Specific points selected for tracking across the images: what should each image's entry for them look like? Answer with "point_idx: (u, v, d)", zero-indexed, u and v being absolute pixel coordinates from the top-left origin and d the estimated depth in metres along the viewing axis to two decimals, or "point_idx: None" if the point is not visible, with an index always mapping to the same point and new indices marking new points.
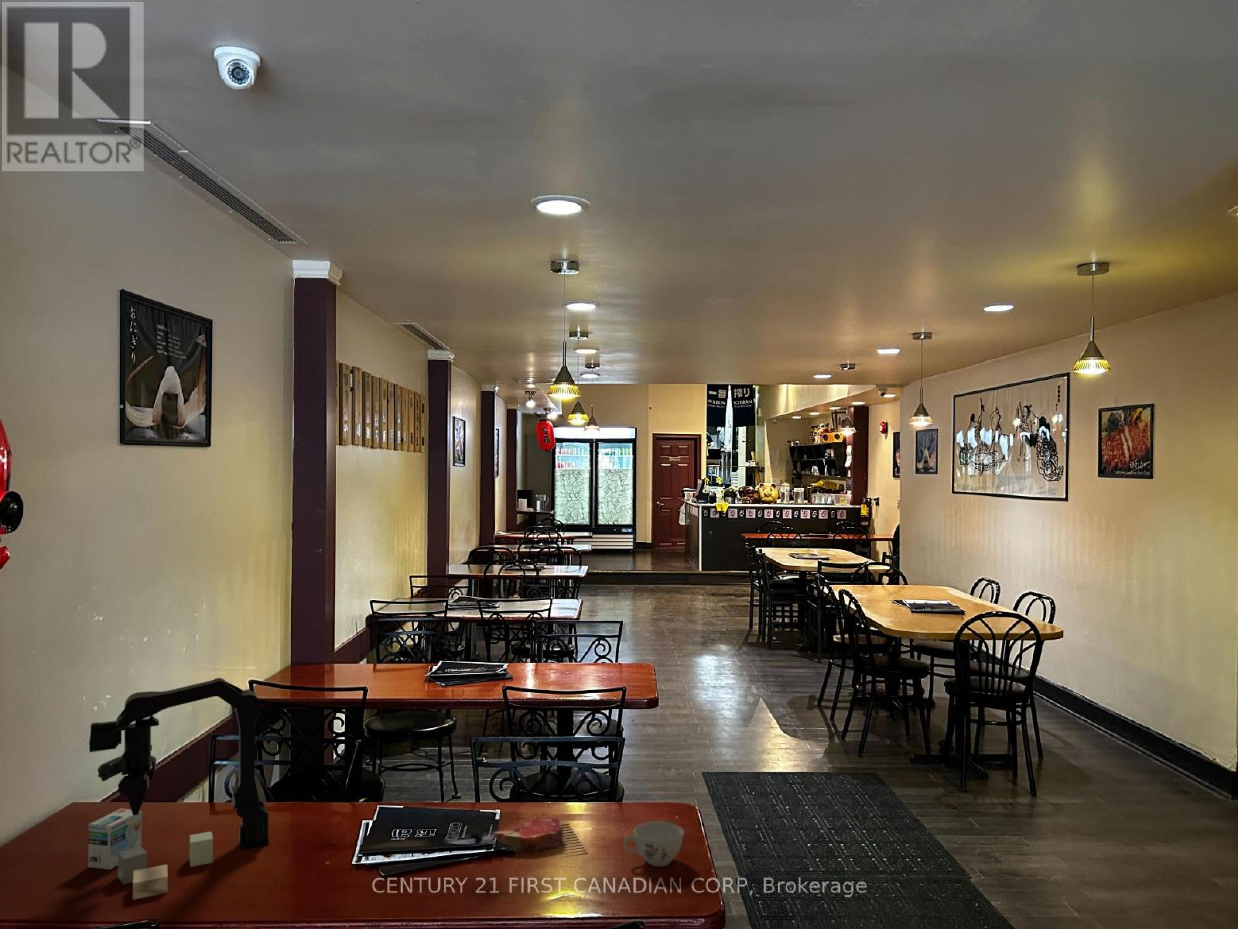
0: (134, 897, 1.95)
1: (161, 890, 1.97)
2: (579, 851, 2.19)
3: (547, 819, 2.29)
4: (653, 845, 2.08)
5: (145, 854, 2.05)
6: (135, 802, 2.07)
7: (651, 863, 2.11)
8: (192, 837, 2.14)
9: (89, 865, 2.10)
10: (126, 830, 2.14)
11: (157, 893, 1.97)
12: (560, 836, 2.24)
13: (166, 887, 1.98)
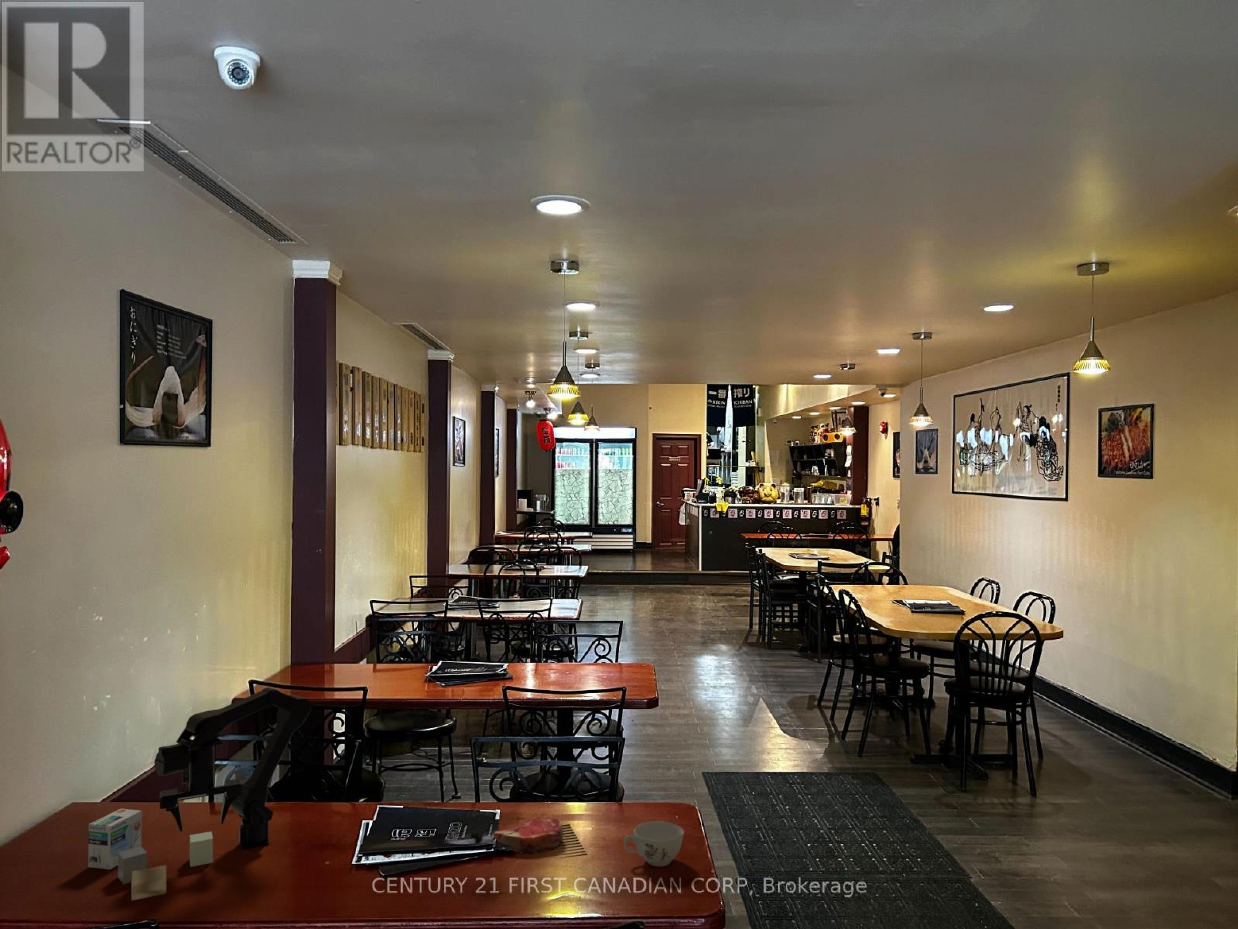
0: (133, 898, 1.94)
1: (160, 891, 1.97)
2: (578, 852, 2.19)
3: (547, 819, 2.29)
4: (653, 845, 2.08)
5: (145, 854, 2.05)
6: None
7: (651, 863, 2.11)
8: (192, 837, 2.14)
9: (89, 865, 2.10)
10: (126, 830, 2.14)
11: (156, 894, 1.96)
12: (560, 836, 2.24)
13: (165, 888, 1.97)
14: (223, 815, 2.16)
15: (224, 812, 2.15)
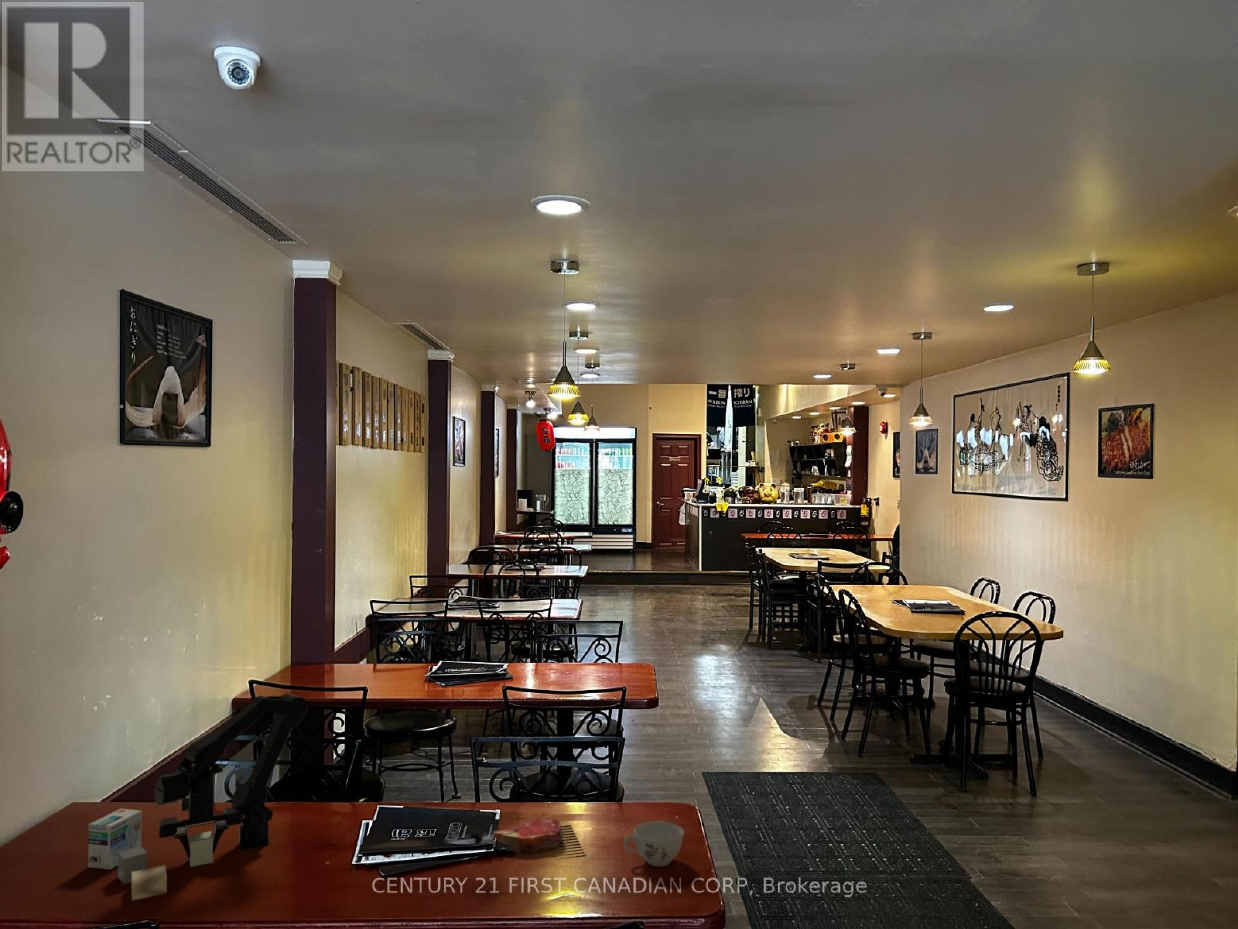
0: (133, 898, 1.94)
1: (160, 890, 1.97)
2: (577, 853, 2.18)
3: (548, 820, 2.29)
4: (653, 845, 2.08)
5: (145, 854, 2.05)
6: None
7: (651, 863, 2.11)
8: (191, 837, 2.14)
9: (89, 865, 2.10)
10: (126, 830, 2.14)
11: (156, 893, 1.97)
12: (559, 837, 2.23)
13: (165, 887, 1.98)
14: (214, 845, 2.14)
15: (215, 842, 2.14)
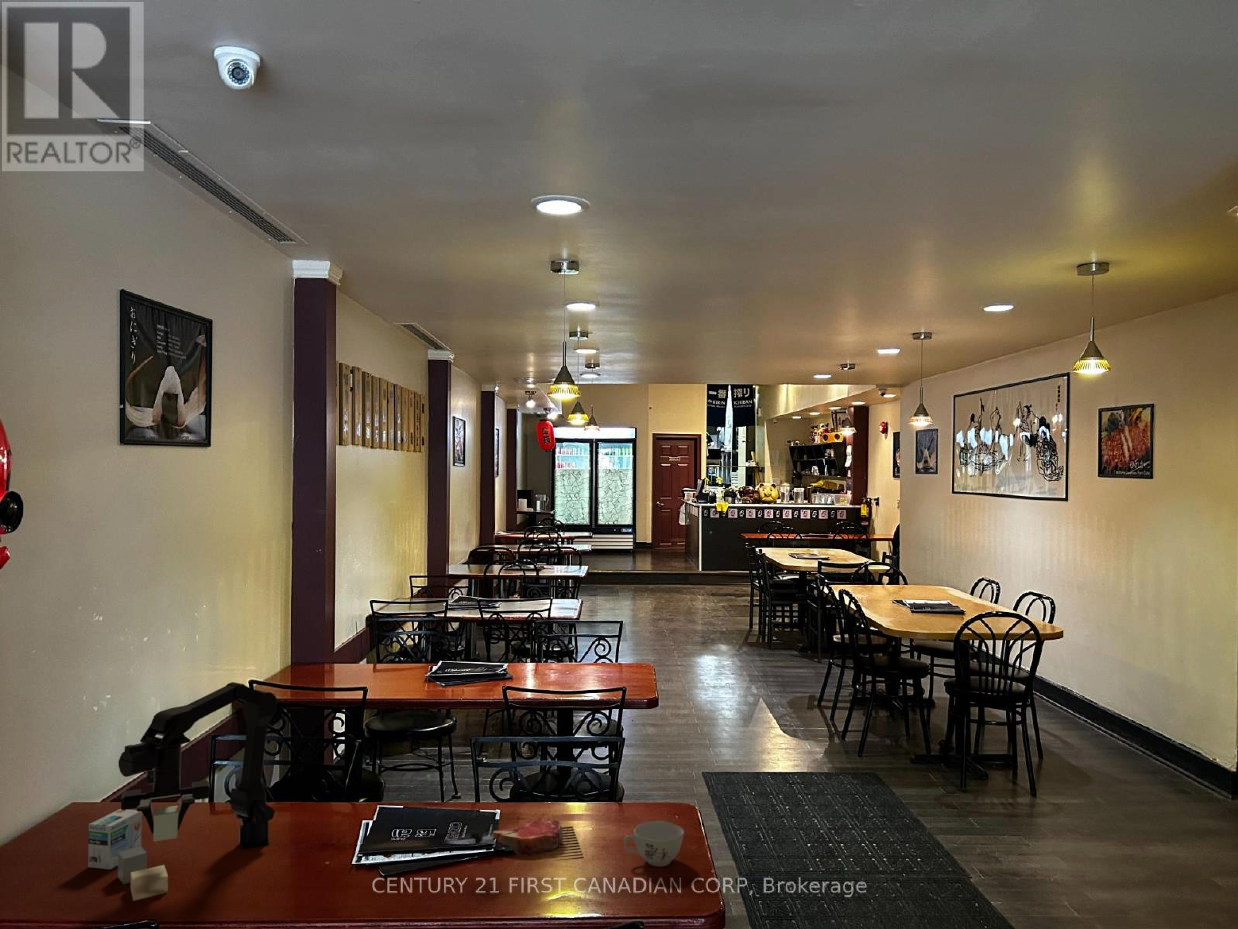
0: (134, 898, 1.94)
1: (161, 890, 1.97)
2: (575, 855, 2.17)
3: (548, 821, 2.28)
4: (653, 845, 2.08)
5: (145, 854, 2.05)
6: None
7: (651, 863, 2.11)
8: (156, 810, 2.04)
9: (89, 865, 2.10)
10: (126, 830, 2.14)
11: (157, 893, 1.97)
12: (559, 838, 2.22)
13: (166, 887, 1.98)
14: (179, 820, 2.04)
15: (180, 817, 2.04)
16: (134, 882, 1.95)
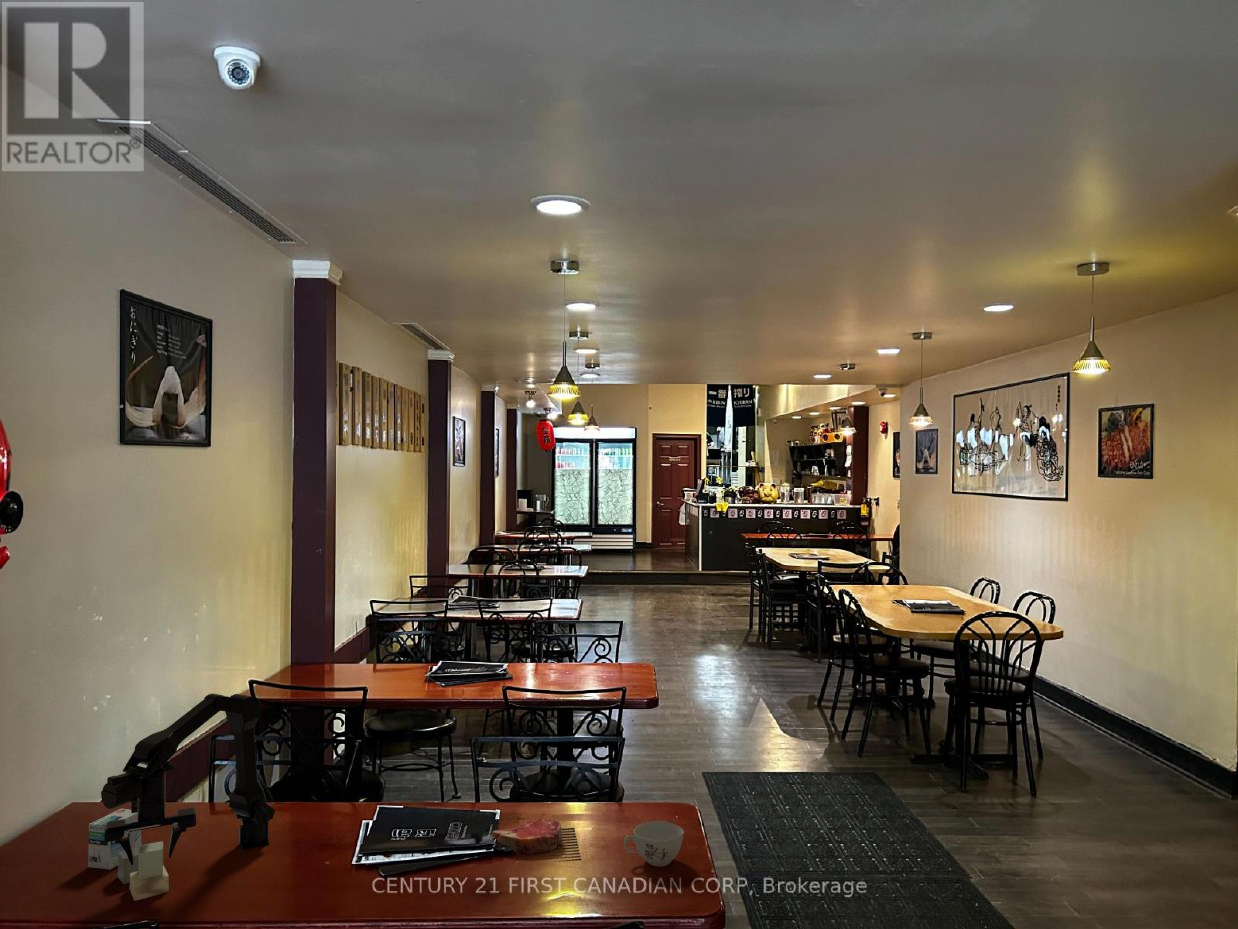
0: (136, 898, 1.94)
1: (162, 890, 1.97)
2: (573, 856, 2.16)
3: (548, 822, 2.27)
4: (653, 845, 2.08)
5: None
6: None
7: (651, 863, 2.11)
8: (141, 847, 1.99)
9: (89, 865, 2.10)
10: None
11: (158, 893, 1.97)
12: (558, 840, 2.21)
13: (167, 886, 1.98)
14: (171, 848, 2.00)
15: (172, 846, 2.00)
16: (135, 882, 1.95)
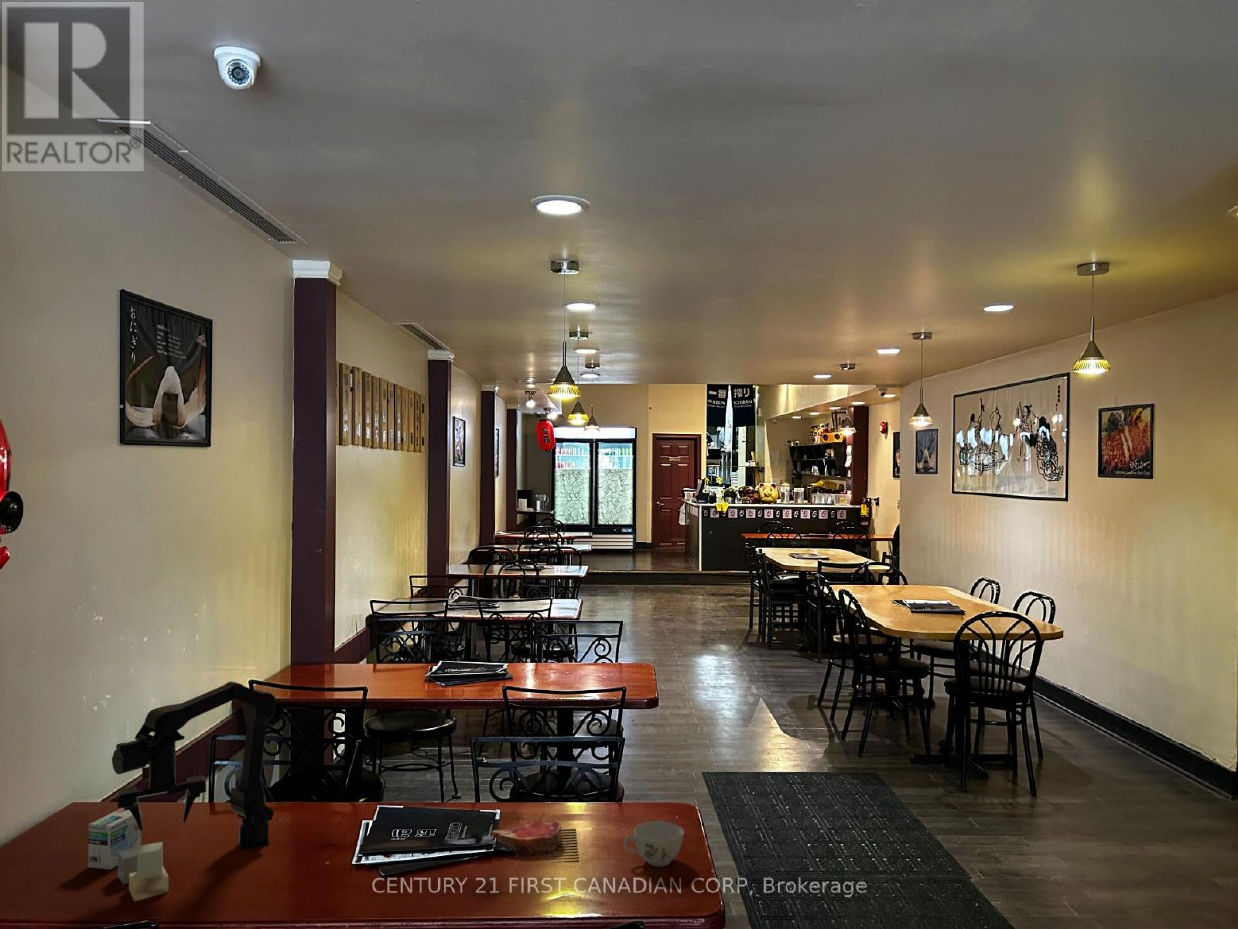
0: (135, 899, 1.94)
1: (162, 890, 1.97)
2: (571, 858, 2.15)
3: (548, 822, 2.27)
4: (653, 845, 2.08)
5: None
6: None
7: (651, 863, 2.11)
8: (140, 848, 1.99)
9: (89, 865, 2.10)
10: (126, 830, 2.14)
11: (158, 893, 1.97)
12: (557, 841, 2.21)
13: (167, 887, 1.98)
14: (185, 813, 2.07)
15: (186, 810, 2.07)
16: (135, 883, 1.95)
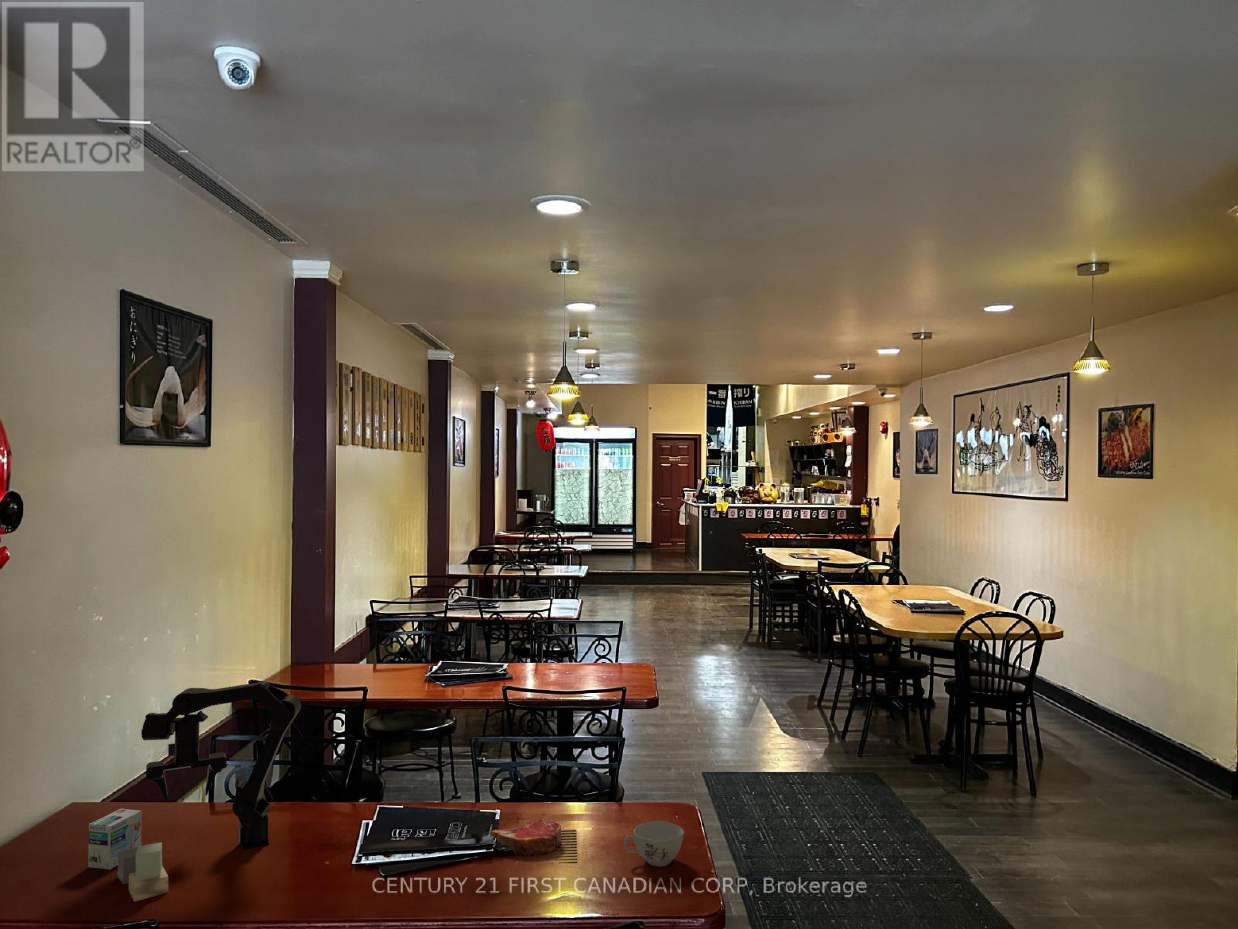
0: (135, 899, 1.94)
1: (162, 890, 1.97)
2: (570, 859, 2.15)
3: (549, 823, 2.27)
4: (653, 845, 2.08)
5: None
6: None
7: (651, 863, 2.11)
8: (139, 848, 1.99)
9: (89, 865, 2.10)
10: (126, 830, 2.14)
11: (158, 893, 1.97)
12: (556, 841, 2.20)
13: (167, 887, 1.98)
14: (207, 787, 2.24)
15: (208, 784, 2.24)
16: (134, 883, 1.94)
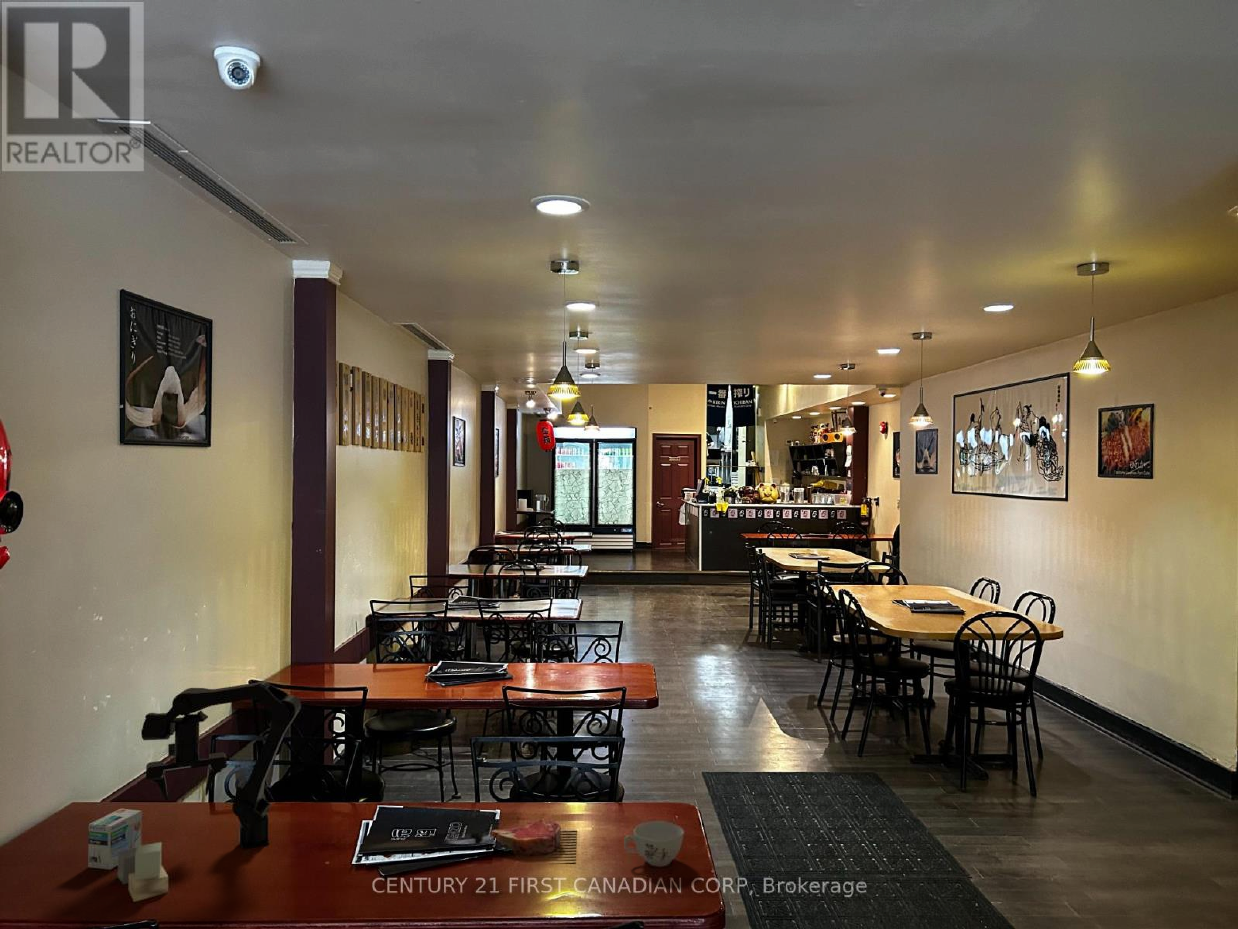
0: (135, 899, 1.94)
1: (162, 890, 1.97)
2: (568, 860, 2.14)
3: (549, 823, 2.26)
4: (653, 845, 2.08)
5: None
6: None
7: (651, 863, 2.11)
8: (138, 848, 1.99)
9: (89, 865, 2.10)
10: (126, 830, 2.14)
11: (158, 893, 1.97)
12: (555, 842, 2.20)
13: (167, 887, 1.98)
14: (207, 787, 2.24)
15: (208, 784, 2.24)
16: (134, 883, 1.94)
